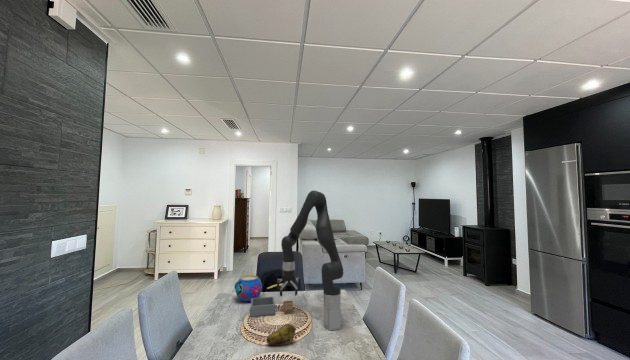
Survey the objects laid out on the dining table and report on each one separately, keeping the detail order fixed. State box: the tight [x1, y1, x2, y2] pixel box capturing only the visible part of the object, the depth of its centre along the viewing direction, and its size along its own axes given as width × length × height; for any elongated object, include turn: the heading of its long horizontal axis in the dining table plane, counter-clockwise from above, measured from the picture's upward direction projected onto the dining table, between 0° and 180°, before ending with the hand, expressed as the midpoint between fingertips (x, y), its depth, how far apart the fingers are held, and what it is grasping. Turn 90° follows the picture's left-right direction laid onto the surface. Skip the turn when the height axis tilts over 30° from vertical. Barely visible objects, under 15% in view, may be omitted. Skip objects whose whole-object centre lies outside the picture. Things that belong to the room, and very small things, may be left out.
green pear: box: [266, 323, 296, 345], centre depth 125 cm, size 8×13×8 cm, turn 83°
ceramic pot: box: [234, 274, 263, 302], centre depth 181 cm, size 18×18×15 cm
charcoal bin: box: [250, 296, 276, 318], centre depth 161 cm, size 14×14×6 cm
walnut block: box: [283, 300, 294, 316], centre depth 159 cm, size 5×5×6 cm
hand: (288, 295), depth 161 cm, fingers open, 8 cm apart
